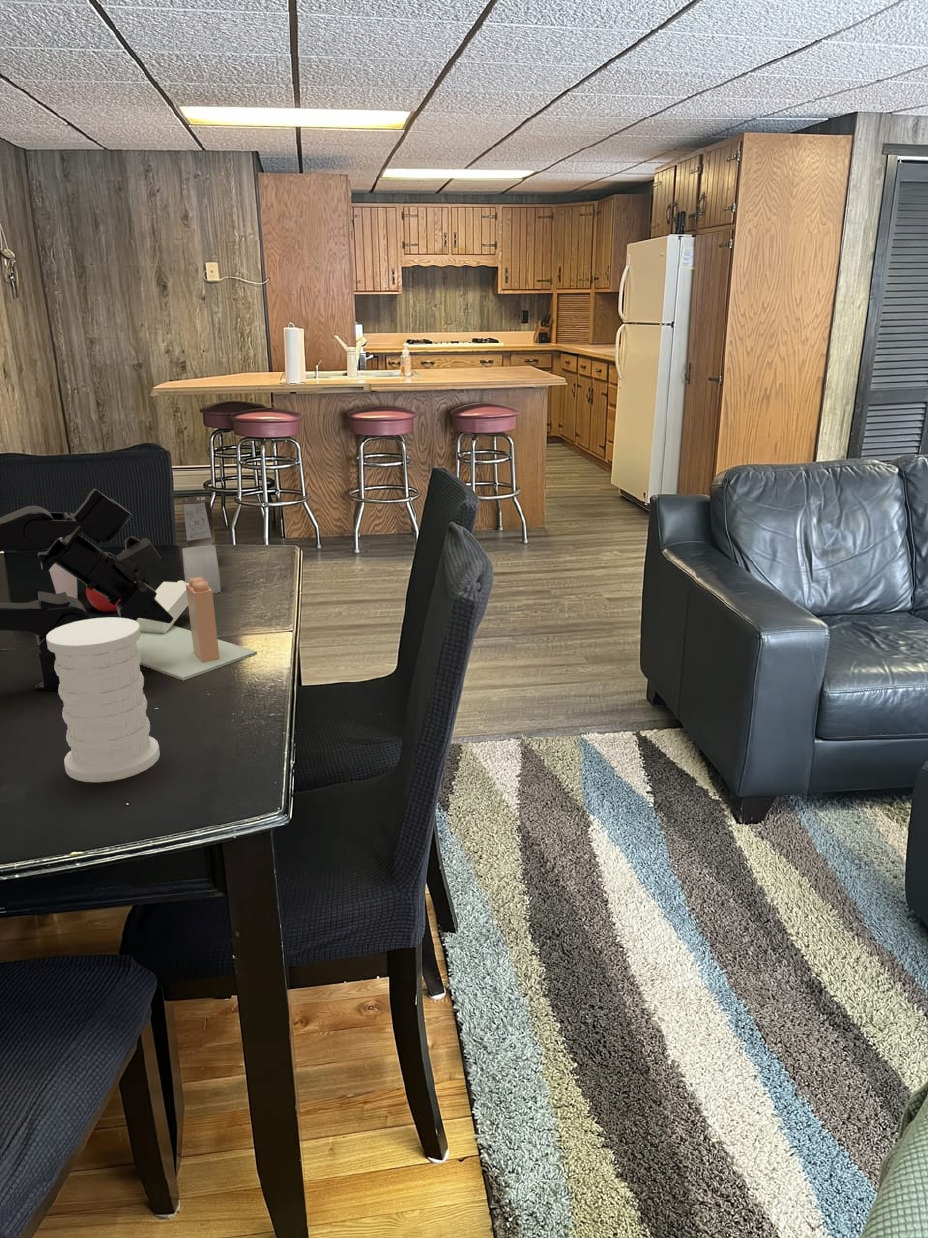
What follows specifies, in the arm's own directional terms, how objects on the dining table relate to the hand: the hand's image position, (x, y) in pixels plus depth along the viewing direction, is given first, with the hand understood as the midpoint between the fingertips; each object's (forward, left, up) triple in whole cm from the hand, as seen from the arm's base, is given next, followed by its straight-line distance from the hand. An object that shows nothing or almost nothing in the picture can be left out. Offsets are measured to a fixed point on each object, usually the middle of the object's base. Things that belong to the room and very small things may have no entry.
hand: (171, 620), depth 147 cm
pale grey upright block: (+42, +12, -8) cm, 45 cm away
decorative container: (-35, -7, -8) cm, 36 cm away
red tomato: (+30, +26, -8) cm, 41 cm away
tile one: (+13, +11, -6) cm, 18 cm away
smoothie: (+35, +39, -8) cm, 53 cm away
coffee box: (+64, +21, -8) cm, 68 cm away
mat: (+7, +4, -8) cm, 11 cm away
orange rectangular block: (+3, -4, -7) cm, 9 cm away
